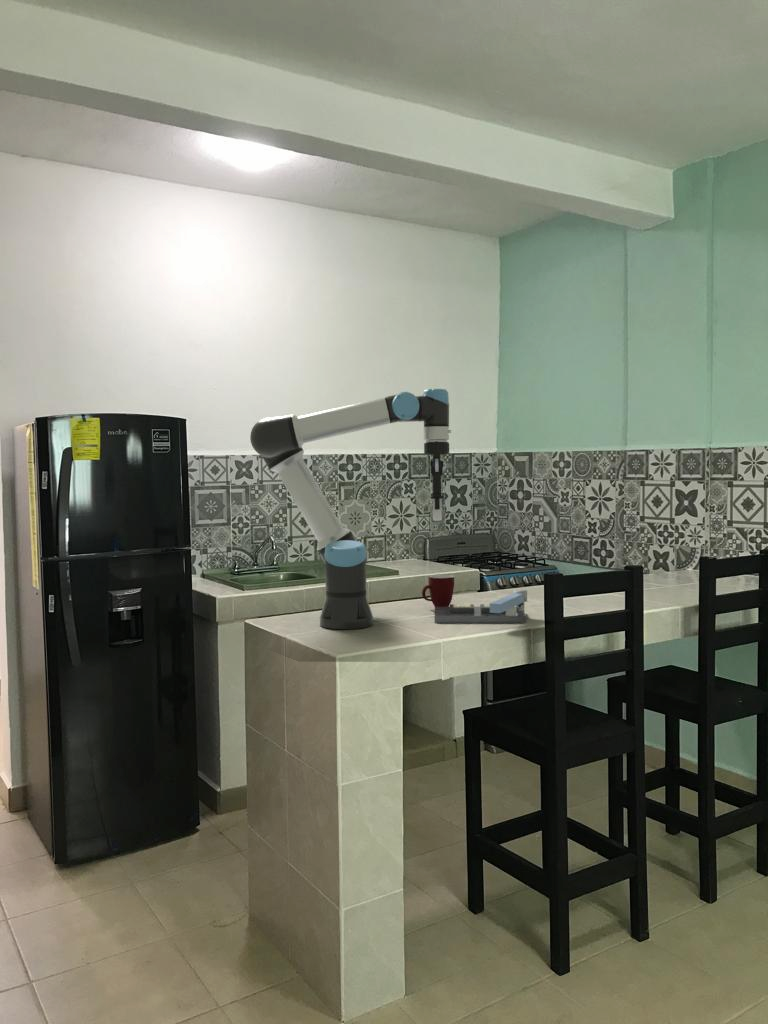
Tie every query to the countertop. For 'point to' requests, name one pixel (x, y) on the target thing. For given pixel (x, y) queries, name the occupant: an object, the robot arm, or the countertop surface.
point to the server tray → (478, 614)
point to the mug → (440, 590)
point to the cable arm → (508, 601)
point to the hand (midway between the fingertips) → (437, 520)
